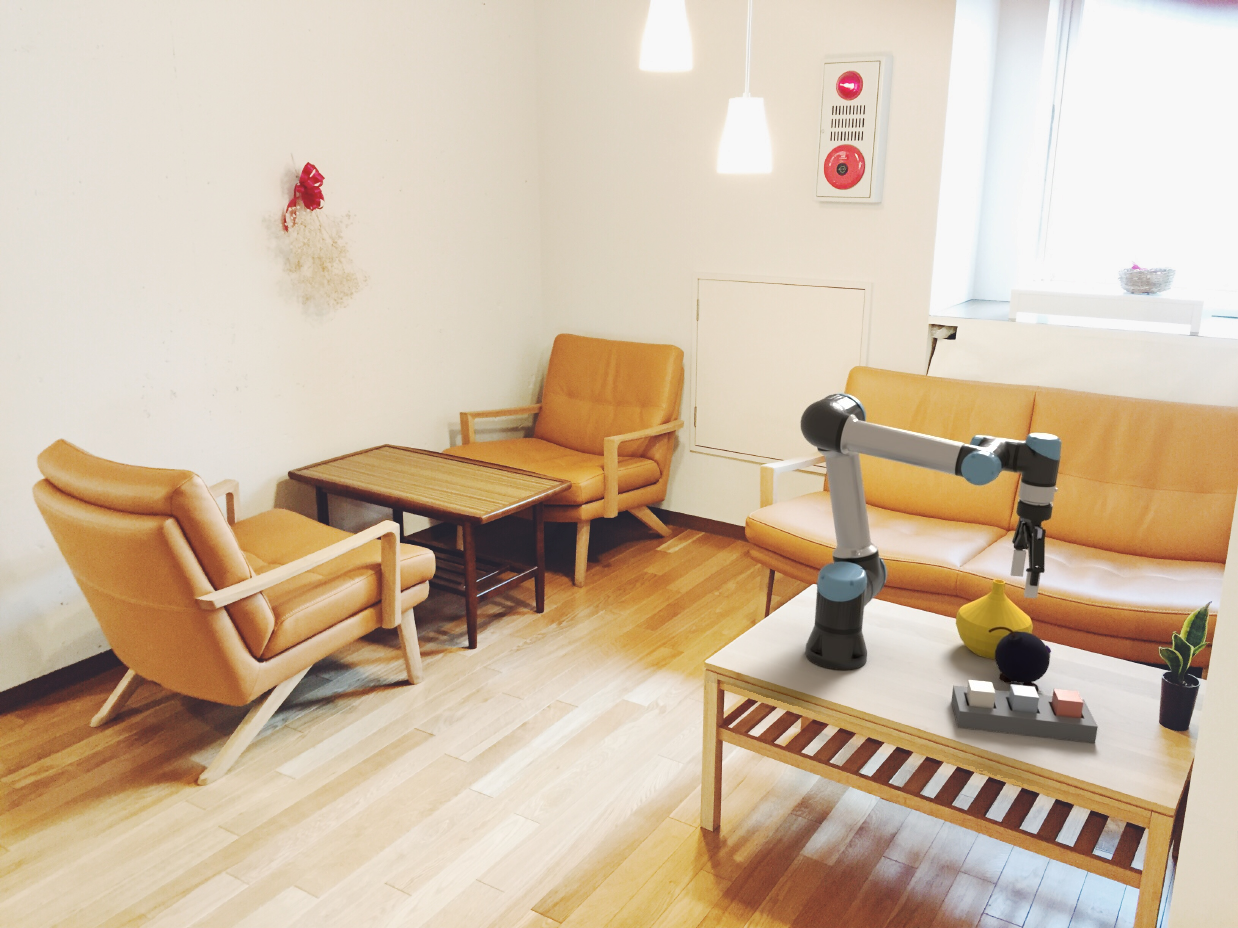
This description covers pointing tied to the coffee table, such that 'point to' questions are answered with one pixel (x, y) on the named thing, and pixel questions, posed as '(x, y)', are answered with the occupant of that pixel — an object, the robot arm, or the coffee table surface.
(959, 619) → the vase
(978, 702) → the key ivory
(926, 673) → the coffee table surface
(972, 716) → the console
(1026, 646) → the toy
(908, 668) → the coffee table surface
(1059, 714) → the key brick
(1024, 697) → the key slate
